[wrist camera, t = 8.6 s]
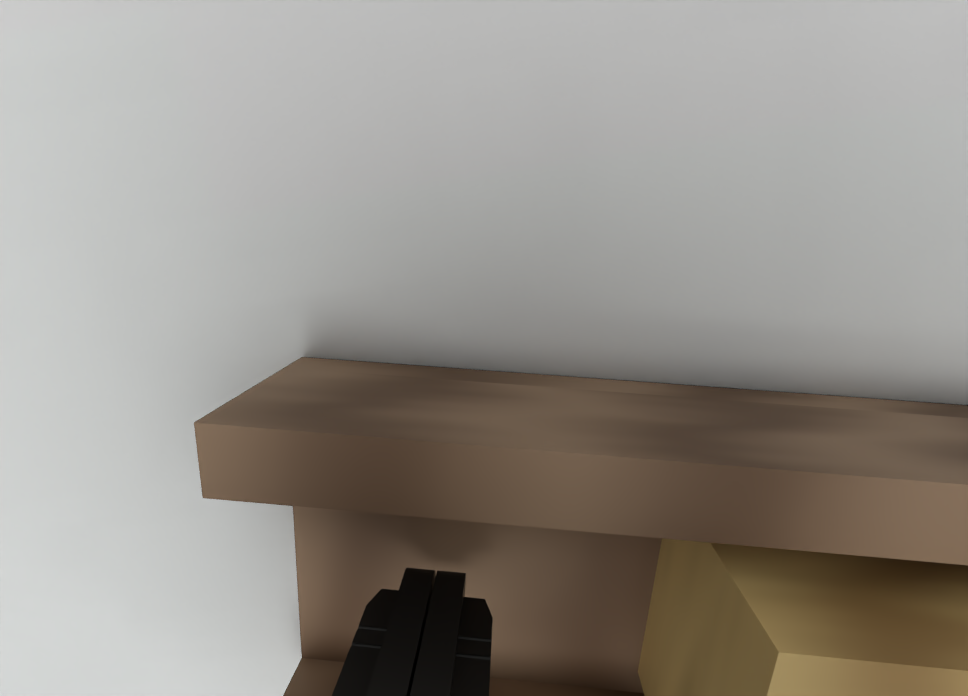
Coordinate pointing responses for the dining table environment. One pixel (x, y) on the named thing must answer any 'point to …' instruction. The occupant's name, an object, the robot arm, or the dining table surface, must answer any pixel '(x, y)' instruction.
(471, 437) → the chute
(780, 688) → the block
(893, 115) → the dining table surface
